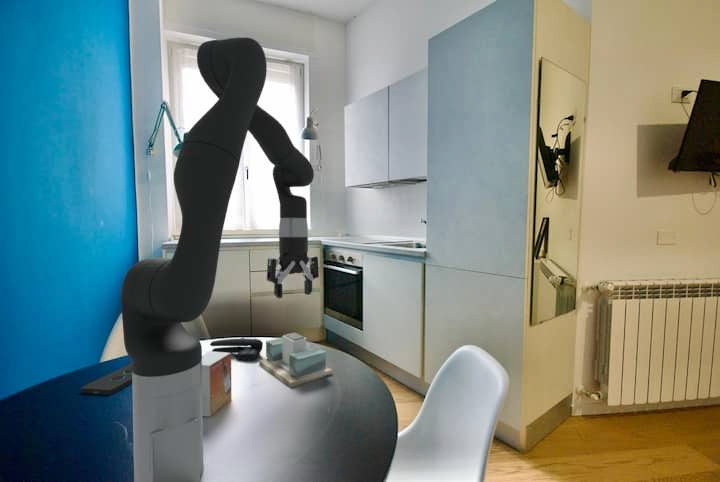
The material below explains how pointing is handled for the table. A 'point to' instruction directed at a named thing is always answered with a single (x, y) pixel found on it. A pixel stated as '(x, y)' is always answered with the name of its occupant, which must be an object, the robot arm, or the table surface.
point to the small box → (215, 381)
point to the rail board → (295, 364)
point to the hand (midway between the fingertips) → (293, 296)
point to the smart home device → (110, 382)
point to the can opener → (243, 352)
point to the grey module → (292, 345)
